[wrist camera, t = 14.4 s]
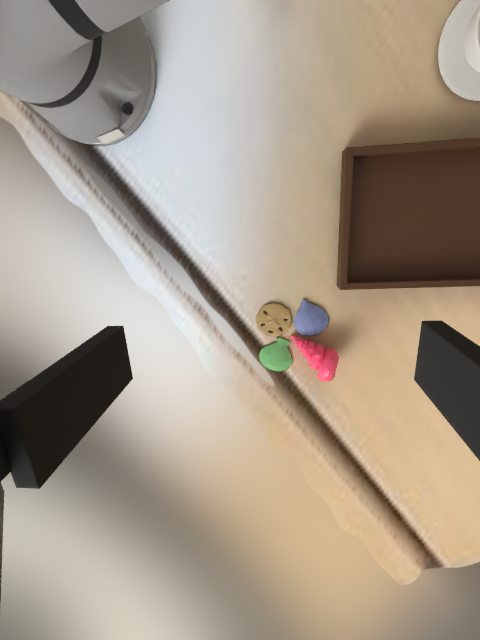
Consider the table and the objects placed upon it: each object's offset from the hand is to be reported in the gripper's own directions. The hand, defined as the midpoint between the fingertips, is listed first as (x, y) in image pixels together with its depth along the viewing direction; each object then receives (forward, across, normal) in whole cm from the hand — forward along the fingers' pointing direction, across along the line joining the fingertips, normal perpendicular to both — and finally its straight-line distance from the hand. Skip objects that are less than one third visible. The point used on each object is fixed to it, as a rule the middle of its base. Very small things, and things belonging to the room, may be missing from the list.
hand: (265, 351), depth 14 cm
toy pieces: (+29, +3, -11) cm, 31 cm away
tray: (+29, +20, +4) cm, 35 cm away
